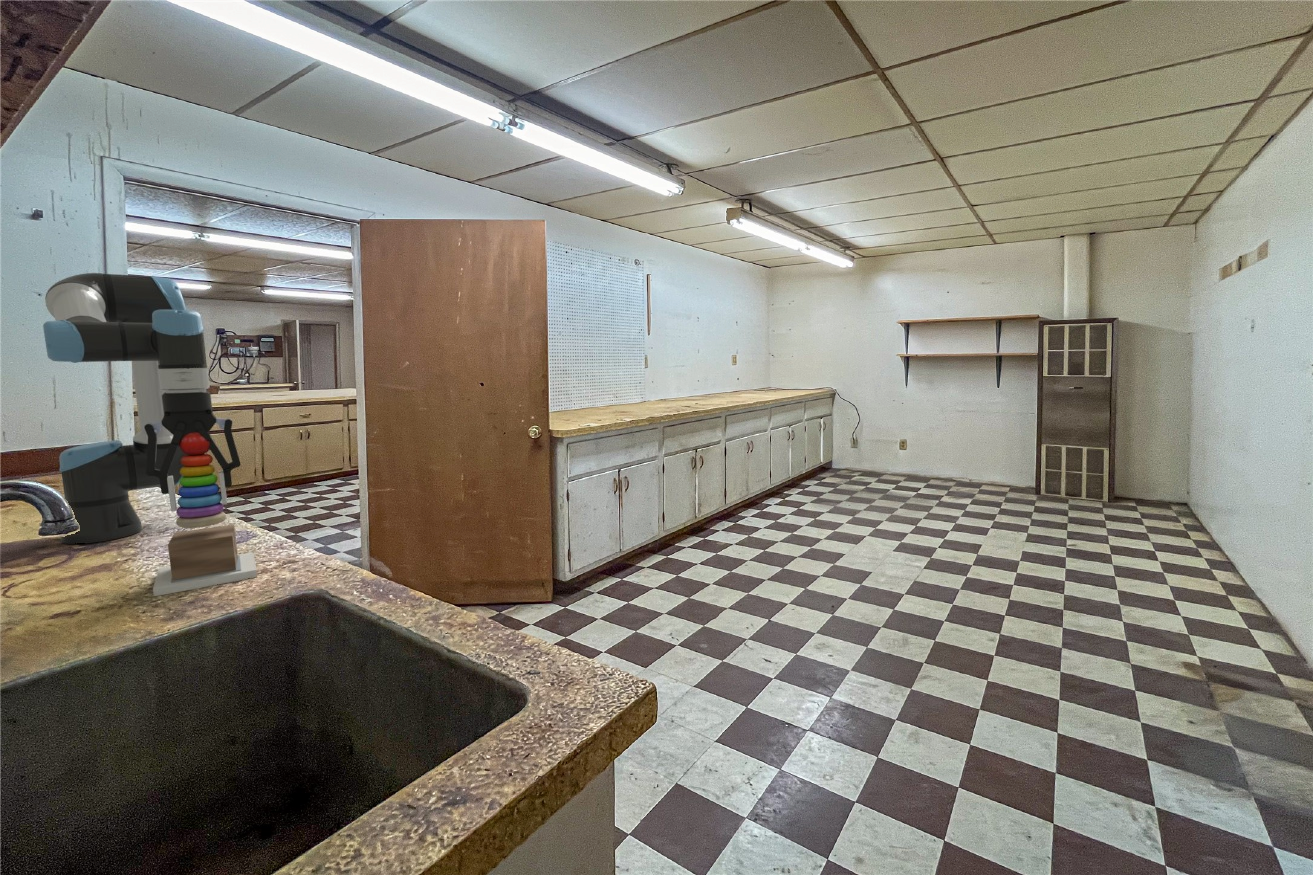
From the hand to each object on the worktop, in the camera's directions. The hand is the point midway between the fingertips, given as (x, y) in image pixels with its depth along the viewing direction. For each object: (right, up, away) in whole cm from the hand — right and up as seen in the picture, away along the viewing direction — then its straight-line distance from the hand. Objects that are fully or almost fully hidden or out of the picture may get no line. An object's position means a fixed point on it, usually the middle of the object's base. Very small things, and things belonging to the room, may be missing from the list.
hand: (199, 506), depth 120 cm
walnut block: (0, -13, +2) cm, 13 cm away
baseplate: (0, -14, +2) cm, 15 cm away
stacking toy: (0, -4, +1) cm, 4 cm away
